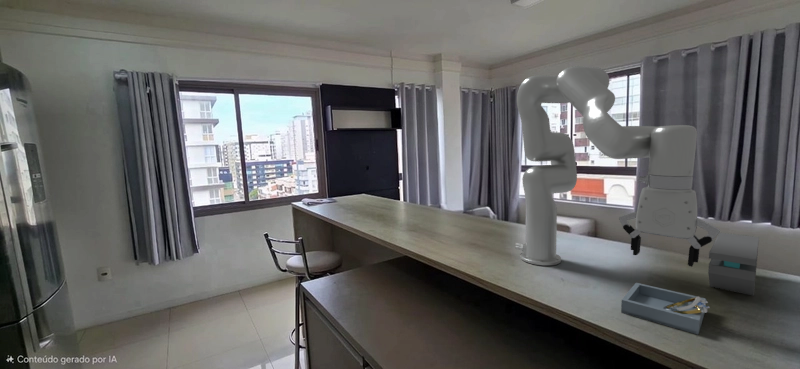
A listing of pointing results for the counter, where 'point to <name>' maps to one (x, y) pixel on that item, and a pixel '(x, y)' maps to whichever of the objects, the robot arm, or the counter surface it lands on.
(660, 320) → the tray
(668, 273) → the counter surface
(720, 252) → the gray slotted box
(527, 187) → the robot arm
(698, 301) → the bracelet
